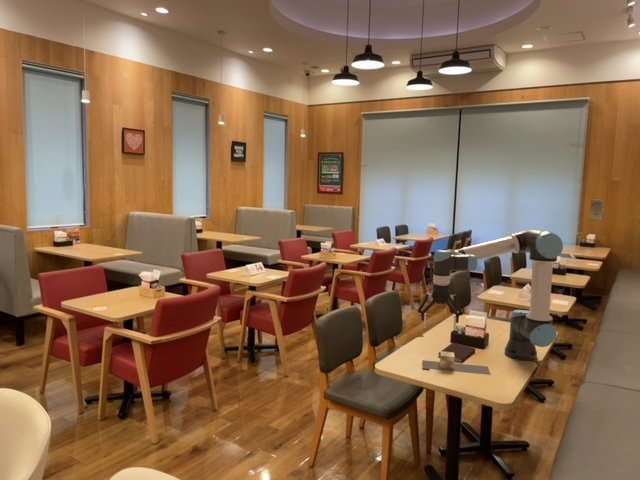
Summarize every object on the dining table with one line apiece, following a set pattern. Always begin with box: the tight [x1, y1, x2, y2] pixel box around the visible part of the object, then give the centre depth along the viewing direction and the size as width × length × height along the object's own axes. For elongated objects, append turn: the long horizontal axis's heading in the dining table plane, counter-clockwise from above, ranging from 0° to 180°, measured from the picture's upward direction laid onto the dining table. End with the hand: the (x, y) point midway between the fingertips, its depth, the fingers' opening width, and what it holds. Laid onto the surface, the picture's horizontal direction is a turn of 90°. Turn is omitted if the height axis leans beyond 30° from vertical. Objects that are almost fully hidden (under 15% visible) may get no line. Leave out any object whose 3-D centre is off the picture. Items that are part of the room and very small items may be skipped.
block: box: [439, 350, 455, 369], centre depth 222 cm, size 6×6×6 cm
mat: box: [422, 360, 492, 376], centre depth 222 cm, size 30×10×1 cm, turn 79°
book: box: [437, 342, 476, 363], centre depth 239 cm, size 12×19×3 cm, turn 143°
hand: (439, 328), depth 222 cm, fingers open, 13 cm apart
